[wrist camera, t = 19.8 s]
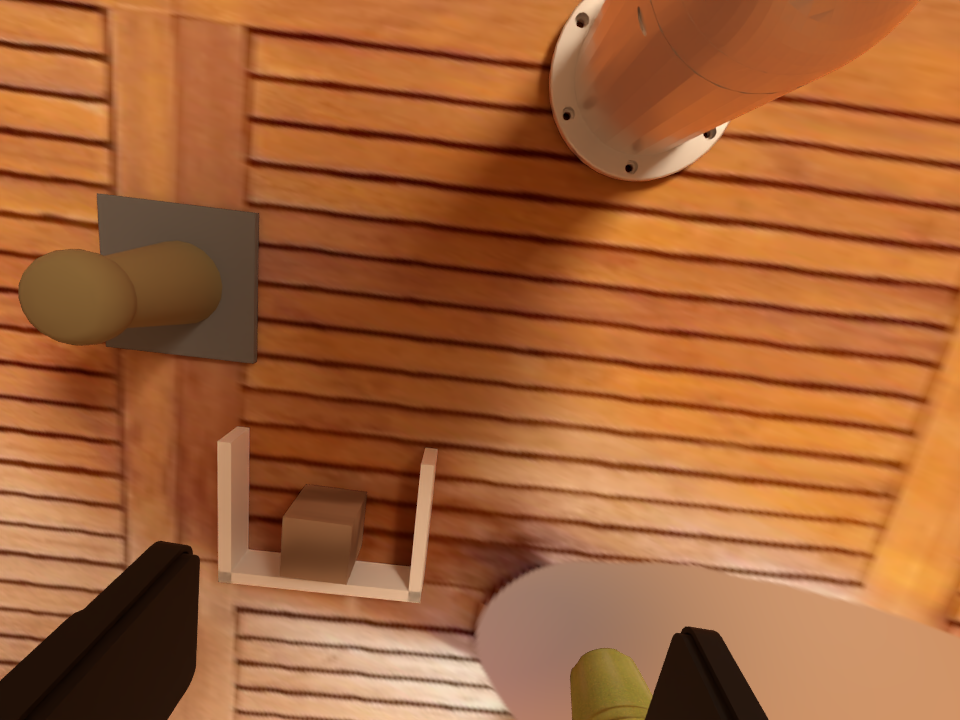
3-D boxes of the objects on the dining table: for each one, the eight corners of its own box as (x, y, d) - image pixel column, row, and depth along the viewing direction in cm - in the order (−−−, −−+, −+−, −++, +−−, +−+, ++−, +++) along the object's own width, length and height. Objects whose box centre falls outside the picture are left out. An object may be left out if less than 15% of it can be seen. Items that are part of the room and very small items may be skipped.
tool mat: (103, 194, 35) (96, 193, 35) (258, 213, 35) (255, 212, 35) (111, 344, 38) (105, 346, 37) (256, 361, 38) (253, 363, 37)
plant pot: (539, 644, 44) (552, 740, 36) (643, 619, 43) (682, 710, 35) (565, 725, 46) (584, 833, 38) (665, 702, 46) (706, 807, 37)
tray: (236, 426, 39) (217, 441, 36) (438, 448, 40) (434, 465, 37) (236, 558, 42) (218, 582, 39) (424, 578, 42) (419, 603, 40)
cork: (130, 306, 36) (-16, 333, 26) (149, 227, 35) (3, 222, 24) (210, 336, 37) (100, 376, 26) (231, 259, 36) (124, 268, 25)
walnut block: (306, 483, 41) (282, 516, 36) (367, 491, 41) (351, 525, 36) (302, 537, 42) (279, 576, 37) (362, 544, 42) (346, 584, 37)
